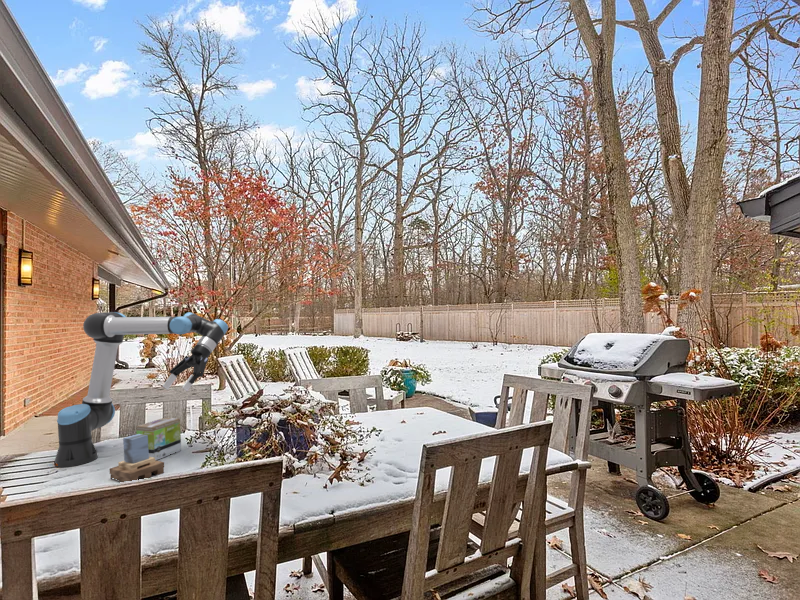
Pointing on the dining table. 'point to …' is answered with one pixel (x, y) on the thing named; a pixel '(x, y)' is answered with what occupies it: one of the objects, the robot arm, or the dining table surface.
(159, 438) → the tea box
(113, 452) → the dining table surface
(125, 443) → the pallet
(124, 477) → the block
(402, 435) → the dining table surface
